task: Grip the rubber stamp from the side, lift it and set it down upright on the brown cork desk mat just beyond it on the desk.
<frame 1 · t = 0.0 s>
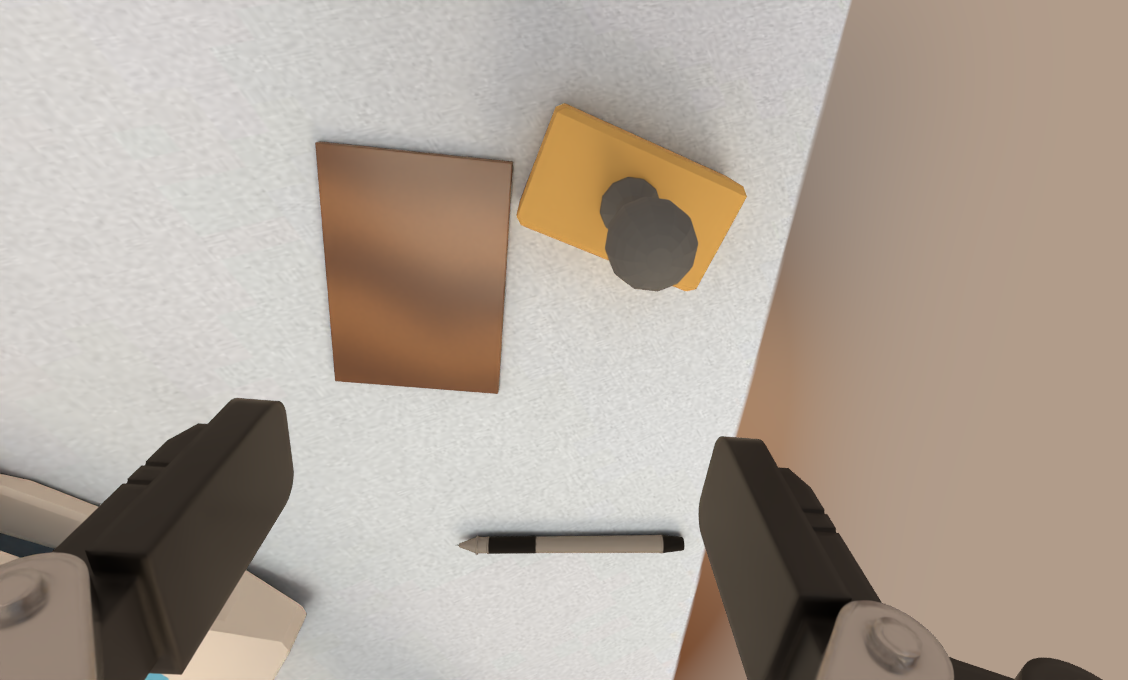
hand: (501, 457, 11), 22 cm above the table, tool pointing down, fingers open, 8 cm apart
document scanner: (94, 602, 43), on the table
rubber stamp: (622, 191, 30), on the table
pen: (572, 535, 41), on the table
cork mat: (417, 278, 32), on the table
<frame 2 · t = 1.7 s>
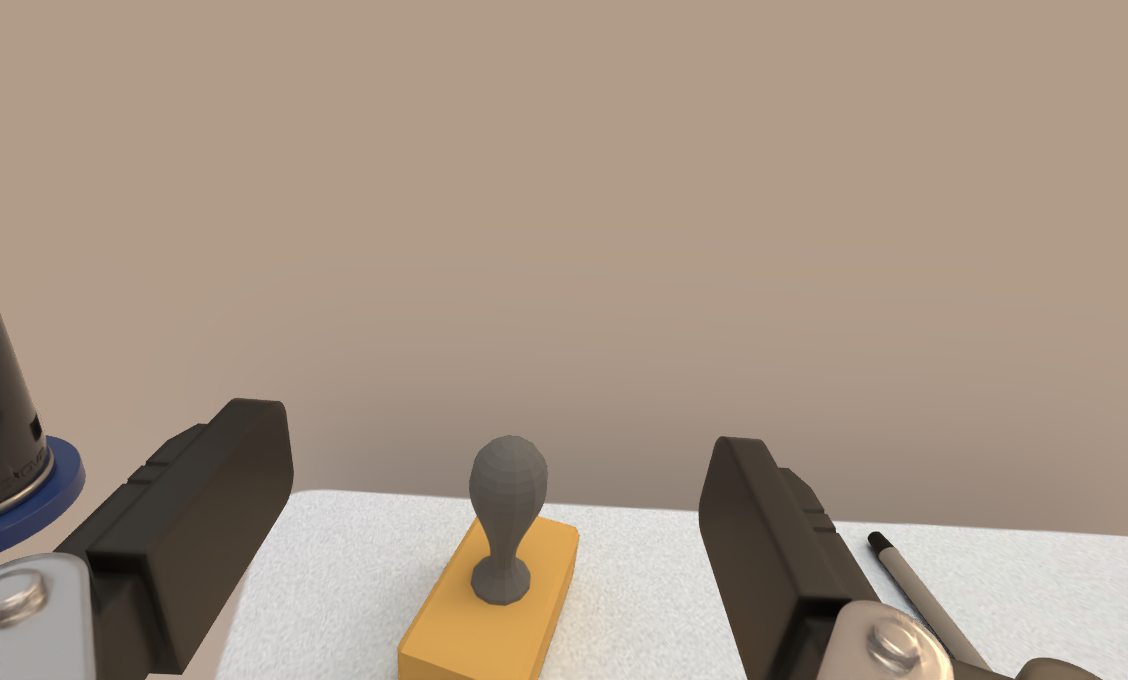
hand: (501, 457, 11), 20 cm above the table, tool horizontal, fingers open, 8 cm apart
rubber stamp: (496, 632, 29), on the table
pen: (953, 658, 31), on the table
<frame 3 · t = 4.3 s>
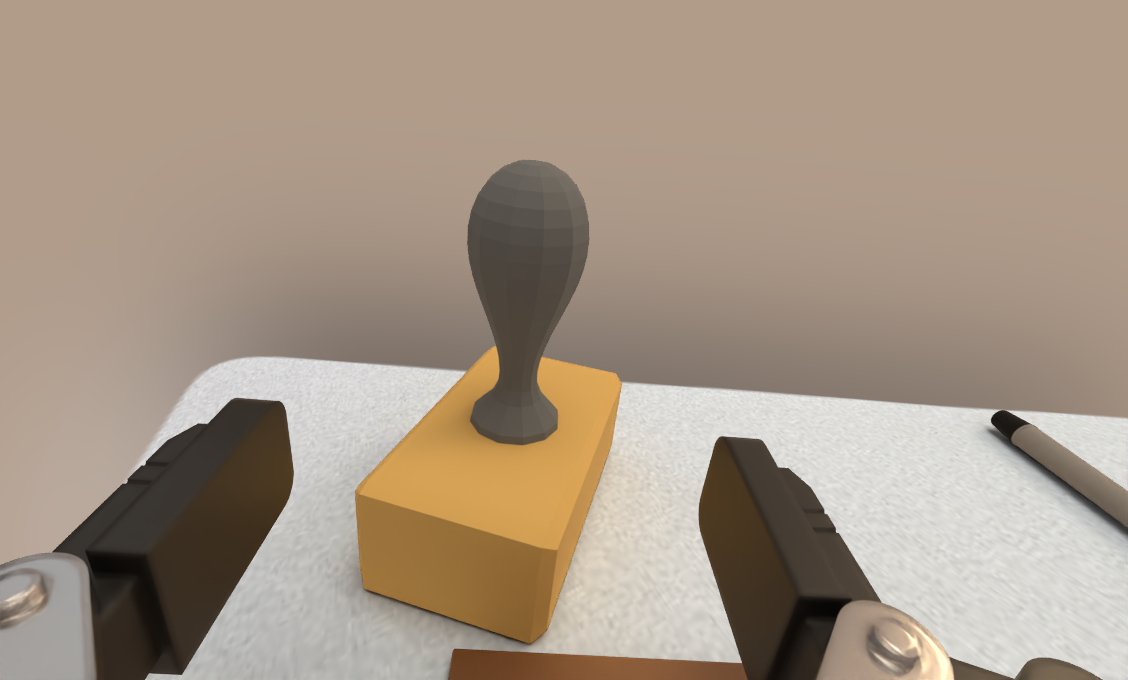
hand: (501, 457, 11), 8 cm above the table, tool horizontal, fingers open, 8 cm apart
rubber stamp: (506, 508, 20), on the table
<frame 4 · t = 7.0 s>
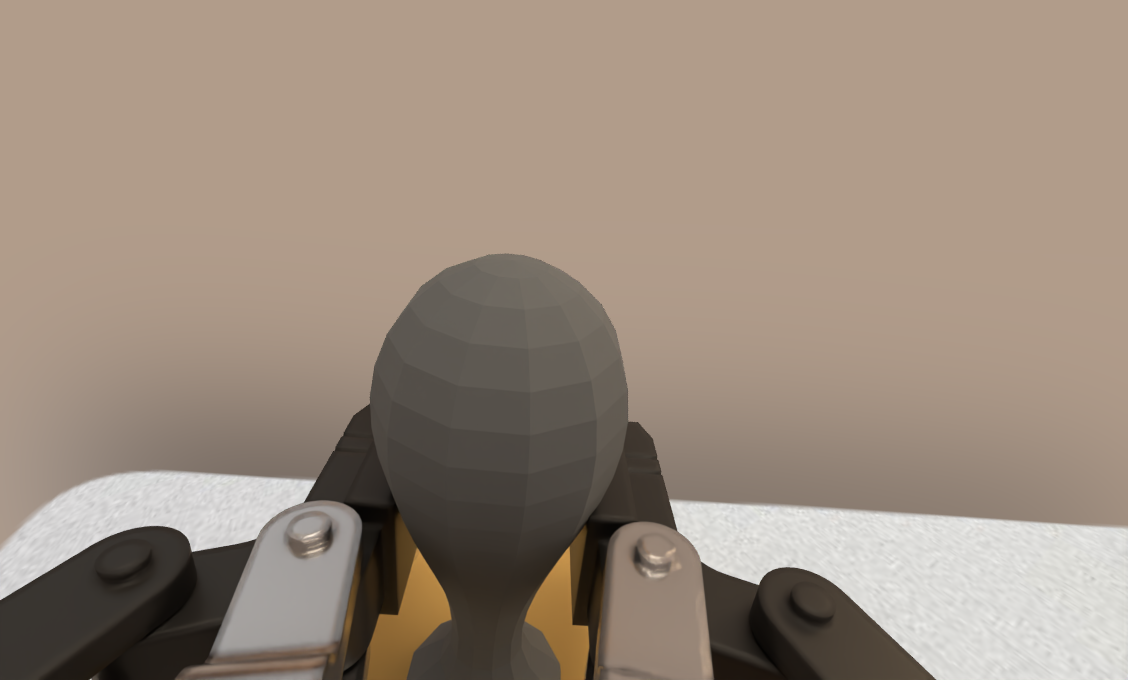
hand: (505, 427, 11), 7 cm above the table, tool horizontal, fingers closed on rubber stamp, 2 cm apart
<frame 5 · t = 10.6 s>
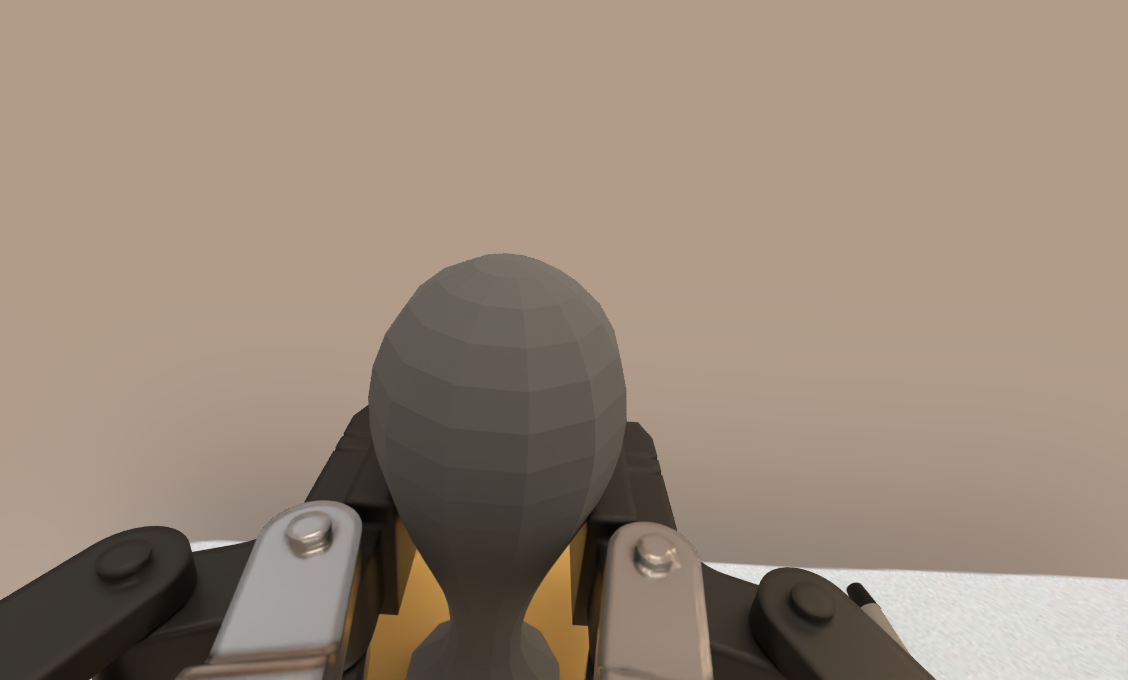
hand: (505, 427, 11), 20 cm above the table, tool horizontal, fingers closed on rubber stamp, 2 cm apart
when the fingers open (8 cm above the table, at t = 14.3 s): rubber stamp stays where it is, resting on cork mat.
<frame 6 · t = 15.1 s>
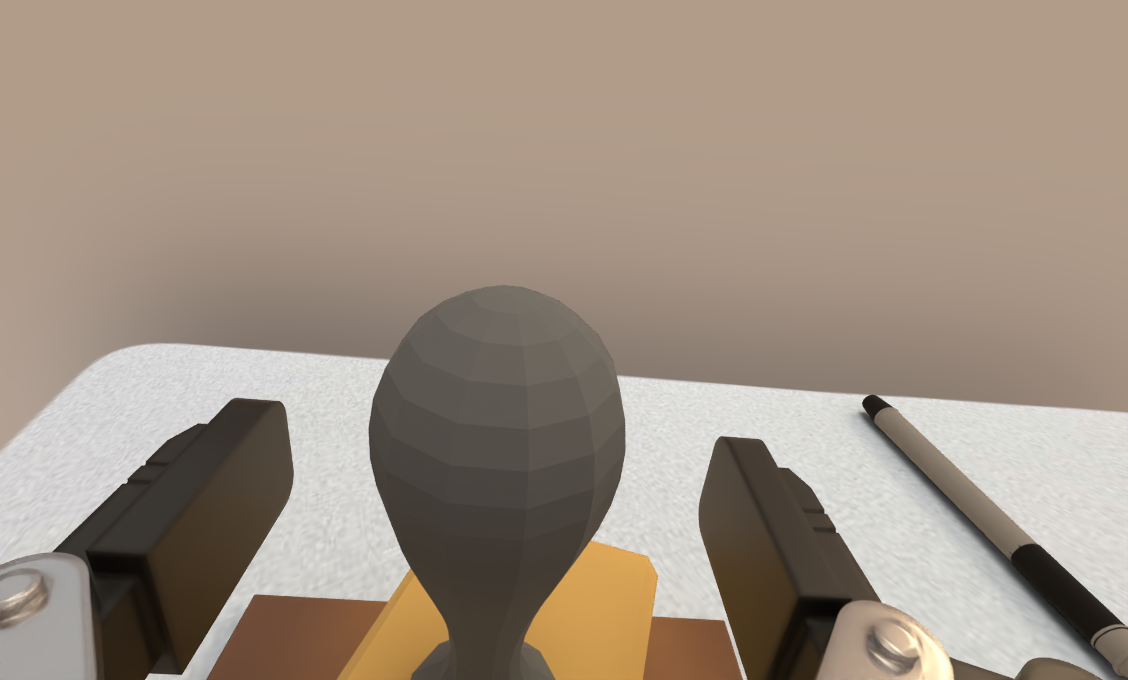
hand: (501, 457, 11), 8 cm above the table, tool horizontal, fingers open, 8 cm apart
pen: (966, 520, 24), on the table
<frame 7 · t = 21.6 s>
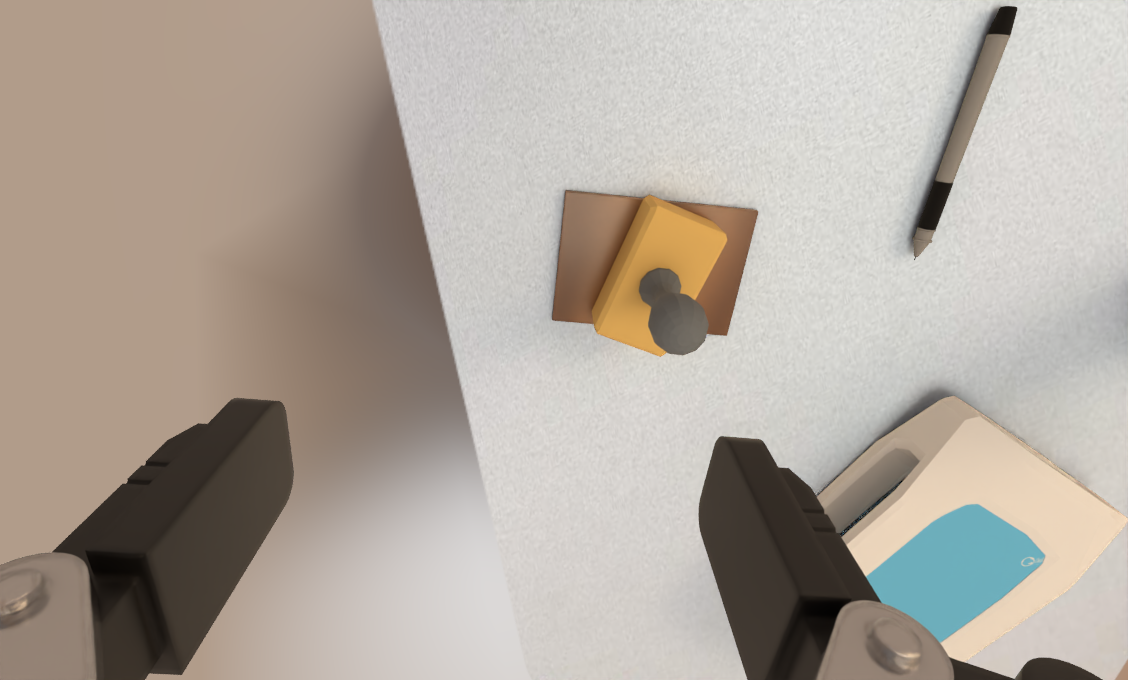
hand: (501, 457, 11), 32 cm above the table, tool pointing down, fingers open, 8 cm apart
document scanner: (896, 534, 55), on the table
rubber stamp: (650, 268, 42), resting on cork mat
pen: (949, 140, 39), on the table
cork mat: (650, 266, 43), on the table
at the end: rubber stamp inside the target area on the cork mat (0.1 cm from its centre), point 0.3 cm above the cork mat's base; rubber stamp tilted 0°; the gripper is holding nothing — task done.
